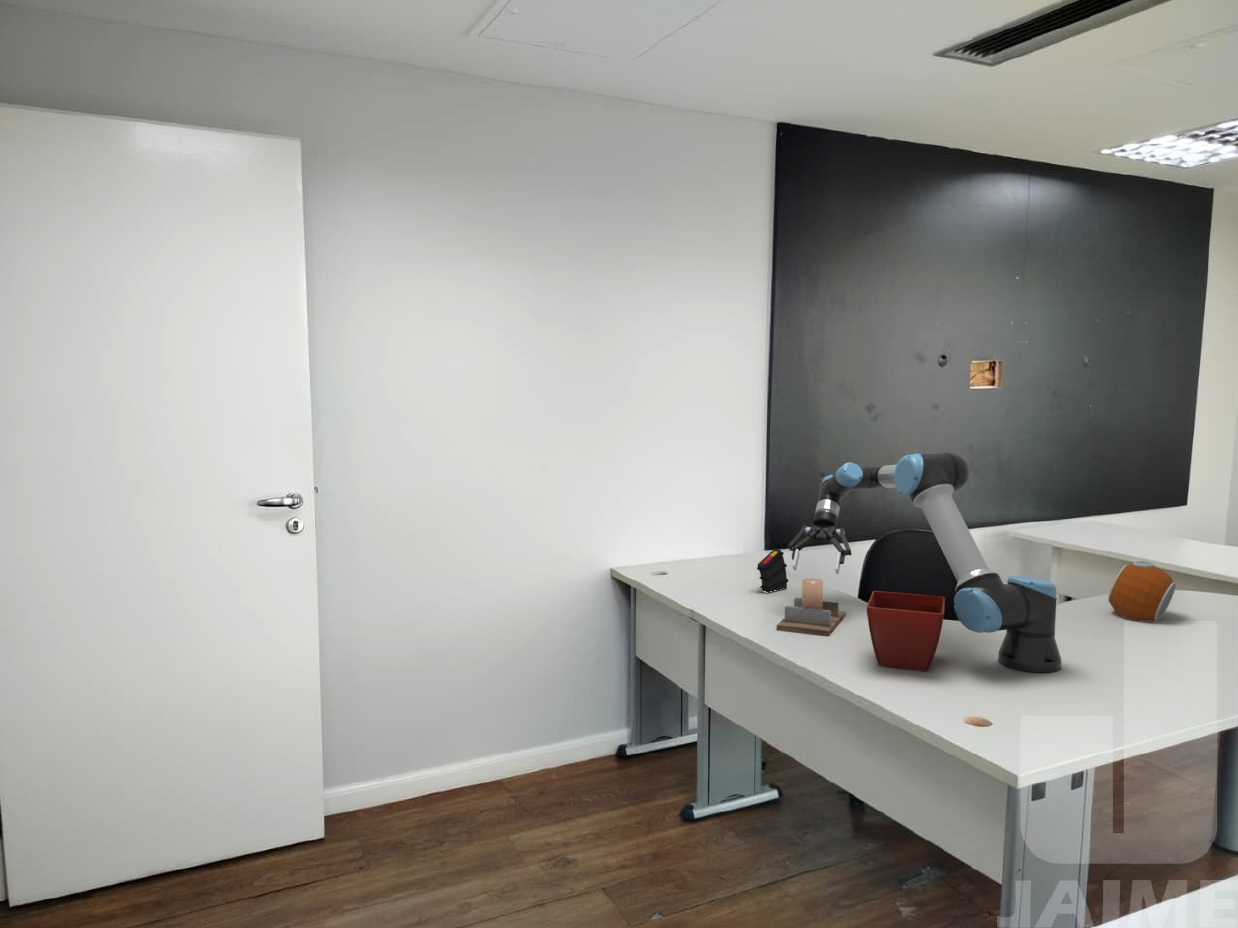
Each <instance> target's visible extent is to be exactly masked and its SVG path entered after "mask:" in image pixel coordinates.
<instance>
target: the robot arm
mask: <svg viewBox="0 0 1238 928" xmlns="http://www.w3.org/2000/svg"><path fill="white" fill-rule="evenodd" d="M970 476H971V469H970V466H969V464H968V462H967V460H966V459H965V458H964V457H962V455H959V454H957V453H954V452H935V453H932V452H931V453H918V452H917V453H914V454H906V455H904V456H903V457H901V458H900V459H899V460H898V462H897V463H896V464H889V465H877V466H876V465H875V466H861V467H860V465H858V464H856V463H854V462H846V463H844V464H842V466H841V467H839V468H838V469H837V470H836V472H835V473H833V474H830V475H826V476H824V477H823V478H822V481H821V483H820V485H819V486H820V487H819V493H818V499H817V503H816V507H815V513H814V517H813V522H812V525H811V526H807V525H806V524H803V525H802V527H801V529H800V530H799V532H798V533H797V534H796V535H795V537H794V538H793V539H792V540H791V541H790V542H789V544H788V545H787V547H788V550H789V551H790V552H791V559H792V569H793V571H797V569H798V563H799V560H800V556H801V553H800V551H802V550H803V549H804V548H806V547H807V546H808V545H809V544H811V543H814V542H815V541H818V542H820V541H823V542H828V541H829V542H830V544H832V545H833V546H834V547H835V549H836V550H837V551H838V552H837V557H836V561H835V568H834V570H835V574H836V575H839V573H840V568H841V565H844V564H845V561H846V560H845V559H846V557H847V556H852V554H853V553H852V550H851V547H850V544H849V542H848V540H847V537H846V531H845V528H844V527H842V526H841V527H840V528H837V524H838V518H839V514H840V509H841V503H842V500H843V498H844V497H845V496H847V495H848V493H850V492H851V491H858V490H859V491H861V490H877V489H894V488H895V489H896V490H897V492H898V494H900V495H902V496H904V497H909V498H910V500H911V501H912V503H913V504H912V505H913V506H915V507H917V508H919V509H921V510H922V512H923V513H924V515H925V519H926V520H927V522H928V524H929V526H930V528H931V531H932V532H933V534H934V536H935V539H936V540H937V542H938V545H939V546H940V548H941V550H942V552H943V555H944V557H945V558H946V561H947V563H948V565H949V567H950V569H951V570H952V573H953V575H954V577H955V580H956V581H957V584H956V587H955V588H954V589H955V590H954V591H955V595H954V597H953V603H954V606H953V608H954V613H955V614H956V617H957V619H958V621H959V622H960V623H961V624H962V626H964V628H966V629H968V630H970V631H972V632H973V633H978V634H979V633H981V634H983V633H987V634H988V633H989V634H991V633H994V632H999V631H1005V630H1006V632H1005V636H1004V638H1003V640H1002V643H1001V645H1000V647H999V651H998V663H1000V664H1001V665H1003V666H1004V667H1007V668H1011V669H1014V670H1016V671H1017V670H1019V671H1022V672H1027V673H1028V672H1029V673H1053V672H1057V671H1059V670H1061V668H1062V657H1061V653H1060V650H1059V646H1058V644H1057V641H1056V637H1055V635H1056V618H1057V617H1056V615H1057V600H1058V597H1057V587H1056V586H1055V584H1054V583H1053V582H1051V581H1048V580H1045V579H1042V578H1036V577H1031V576H1022V575H1010V576H1008V577H1007V580H1006V582H1007V583H1004V582H1003V580H1002V579H1001V576H1000V574H999V573H998V572H997V571H993V570H990V569H989V566H988V565H987V562H986V561H985V559H984V557H983V555H982V553H981V551H980V549H979V547H978V545H977V543H976V542H975V539H974V537H973V535H972V533H971V532H970V530H969V528H968V526H967V524H966V522H965V520H964V518H963V515H962V513H961V512H960V510H959V508H958V506H957V504H956V502H955V501H954V499H953V497H952V495H953V493H954V492H957V491H959V490H961V489H963V488H964V487H965V486H966V485H967V482H969V479H970ZM806 535H807V536H806ZM835 535H838V536H839V537H840V538H841V541H842V544H843V545H844V547H843V546H842V545H841V544H840V542H839V541H838V540H837V539H836V537H835Z"/></svg>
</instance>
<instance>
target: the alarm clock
mask: <svg viewBox="0 0 1238 928" xmlns="http://www.w3.org/2000/svg"><path fill="white" fill-rule="evenodd" d="M1176 584H1177V583H1176V582H1174V580H1173V579H1172V577H1171V575H1169V574H1168V573H1167V572H1166V571H1165V570H1163V569H1161V568H1160V567H1157V566H1156V565H1155V564H1154V563H1153V562H1150V561H1140V560H1138V561H1133V563H1131V564H1125V565H1123V566H1122V568H1121V569H1120V571H1118V573H1117V575H1116V577H1115V579H1114V580H1113V583H1112V585H1111V588H1110V590H1109V593H1108V596H1107V598H1108V599H1107V601H1108V603H1109V604H1110V606H1111V607H1112V608H1113V610H1114V612H1116V613H1117V614H1118V615H1120V616H1119V617H1122V618H1124V619H1125V618H1126V619H1128V620H1132V619H1134V620H1133V621H1136V620H1140V621H1139V622H1145V621H1156V622H1157V621H1159V620H1160V619H1161V618H1163V616H1164V615H1165V613H1166V611H1167V609H1168V607H1169V606H1170V604H1171V601H1172V599H1173V596H1174V594H1175V590H1176ZM1158 619H1159V620H1158Z"/></svg>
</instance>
